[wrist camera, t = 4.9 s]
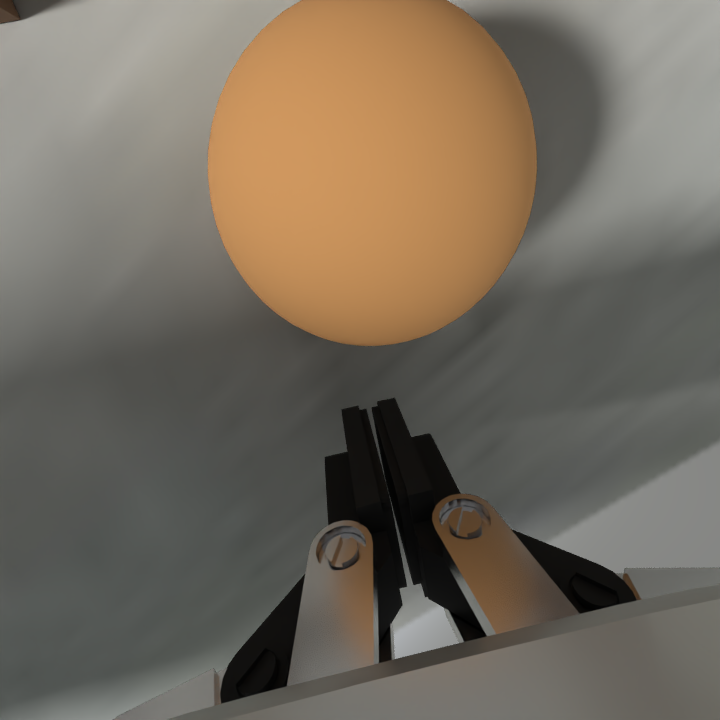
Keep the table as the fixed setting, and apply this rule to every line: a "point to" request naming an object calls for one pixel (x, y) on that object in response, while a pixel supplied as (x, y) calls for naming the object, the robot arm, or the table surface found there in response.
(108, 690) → the table surface
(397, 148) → the ball
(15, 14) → the brown arch
